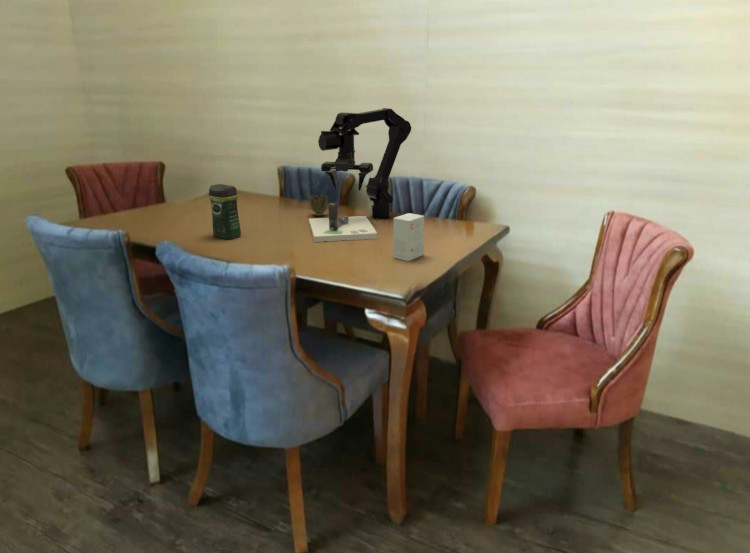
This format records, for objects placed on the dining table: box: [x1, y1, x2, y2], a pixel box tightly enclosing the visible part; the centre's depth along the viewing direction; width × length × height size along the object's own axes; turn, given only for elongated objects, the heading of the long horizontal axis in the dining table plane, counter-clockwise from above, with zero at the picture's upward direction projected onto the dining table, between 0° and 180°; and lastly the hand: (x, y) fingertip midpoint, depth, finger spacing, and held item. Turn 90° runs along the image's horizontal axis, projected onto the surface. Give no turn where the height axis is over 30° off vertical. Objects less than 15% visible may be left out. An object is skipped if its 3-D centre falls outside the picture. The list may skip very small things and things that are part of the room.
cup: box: [309, 194, 329, 218], centre depth 230 cm, size 8×7×8 cm
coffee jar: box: [208, 183, 242, 240], centre depth 201 cm, size 10×8×19 cm
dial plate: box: [308, 215, 378, 243], centre depth 210 cm, size 22×25×2 cm
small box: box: [392, 212, 425, 262], centre depth 179 cm, size 8×6×13 cm
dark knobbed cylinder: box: [327, 202, 350, 230], centre depth 206 cm, size 14×4×9 cm, turn 163°
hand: (347, 189), depth 216 cm, fingers open, 9 cm apart
